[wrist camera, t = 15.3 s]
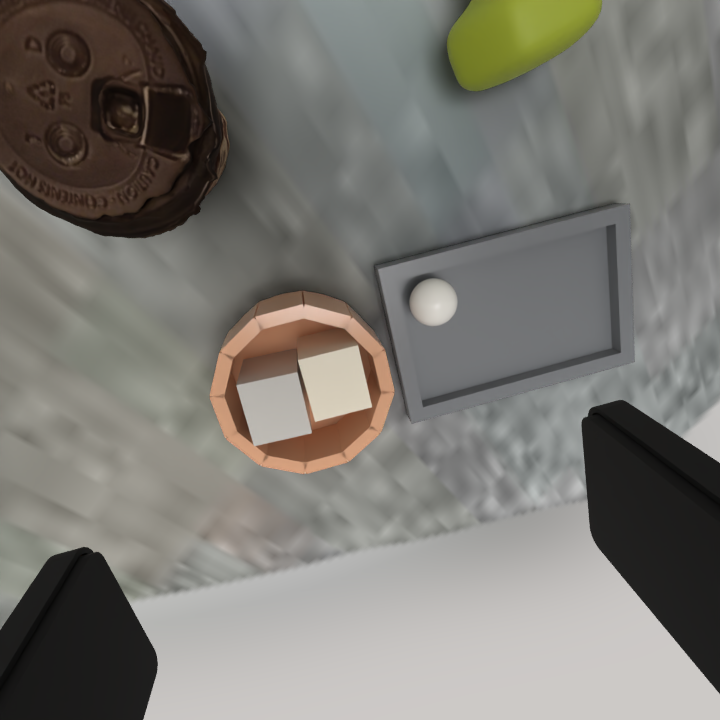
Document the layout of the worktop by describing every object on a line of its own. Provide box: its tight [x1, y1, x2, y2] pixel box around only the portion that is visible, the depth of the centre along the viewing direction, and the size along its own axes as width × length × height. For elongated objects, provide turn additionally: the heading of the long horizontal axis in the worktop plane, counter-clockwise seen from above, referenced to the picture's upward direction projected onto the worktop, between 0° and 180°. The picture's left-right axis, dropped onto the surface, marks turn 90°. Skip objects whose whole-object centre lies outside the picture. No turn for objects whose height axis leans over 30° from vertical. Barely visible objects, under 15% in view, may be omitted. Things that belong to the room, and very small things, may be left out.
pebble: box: [409, 278, 458, 326], centre depth 30 cm, size 3×3×3 cm
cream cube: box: [297, 327, 372, 422], centre depth 30 cm, size 4×4×4 cm
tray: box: [374, 203, 635, 424], centre depth 33 cm, size 16×11×2 cm, turn 103°
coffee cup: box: [0, 0, 230, 238], centre depth 21 cm, size 9×8×13 cm
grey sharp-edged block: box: [236, 348, 312, 446], centre depth 30 cm, size 4×4×4 cm
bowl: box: [210, 290, 394, 474], centre depth 31 cm, size 10×10×4 cm
